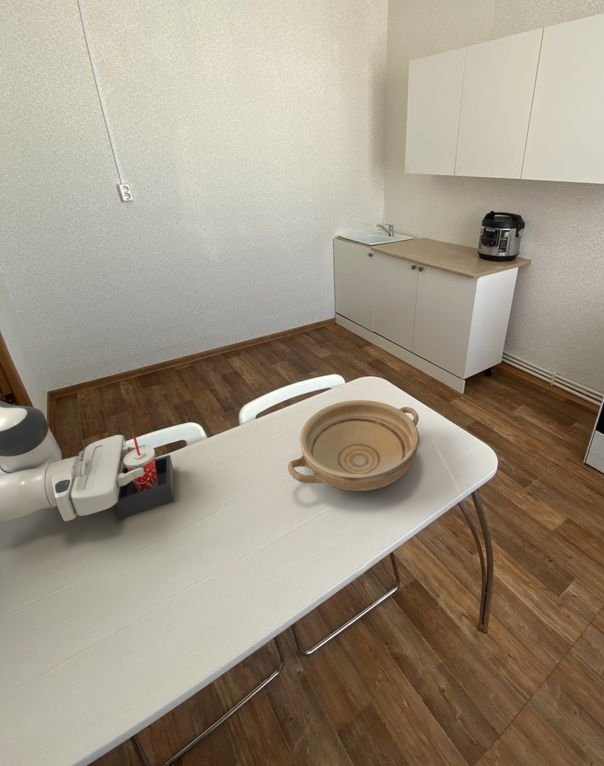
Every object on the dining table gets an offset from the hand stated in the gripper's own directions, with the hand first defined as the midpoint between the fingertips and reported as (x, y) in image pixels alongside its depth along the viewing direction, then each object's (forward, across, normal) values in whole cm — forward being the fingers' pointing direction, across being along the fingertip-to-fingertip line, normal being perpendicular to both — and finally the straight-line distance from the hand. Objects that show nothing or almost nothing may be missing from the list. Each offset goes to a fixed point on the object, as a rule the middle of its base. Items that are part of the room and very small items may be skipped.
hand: (144, 459), depth 86 cm
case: (-1, 0, -9) cm, 9 cm away
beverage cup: (-1, 0, -8) cm, 8 cm away
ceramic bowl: (+47, +14, -10) cm, 50 cm away
